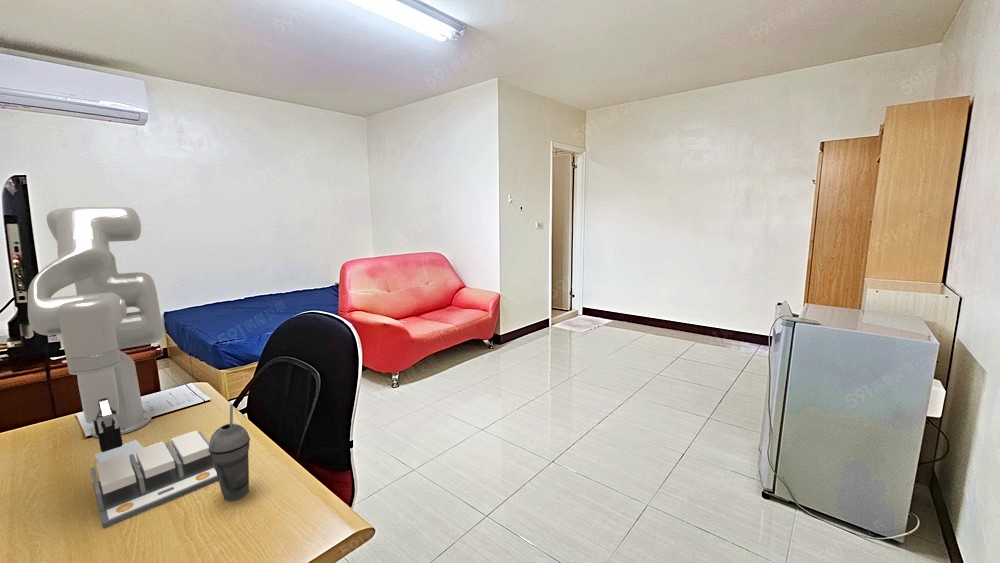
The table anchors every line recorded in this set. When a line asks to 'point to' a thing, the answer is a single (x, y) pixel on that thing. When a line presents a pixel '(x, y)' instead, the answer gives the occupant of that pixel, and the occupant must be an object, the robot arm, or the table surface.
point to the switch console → (153, 487)
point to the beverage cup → (231, 459)
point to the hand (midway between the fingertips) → (109, 440)
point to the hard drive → (120, 451)
